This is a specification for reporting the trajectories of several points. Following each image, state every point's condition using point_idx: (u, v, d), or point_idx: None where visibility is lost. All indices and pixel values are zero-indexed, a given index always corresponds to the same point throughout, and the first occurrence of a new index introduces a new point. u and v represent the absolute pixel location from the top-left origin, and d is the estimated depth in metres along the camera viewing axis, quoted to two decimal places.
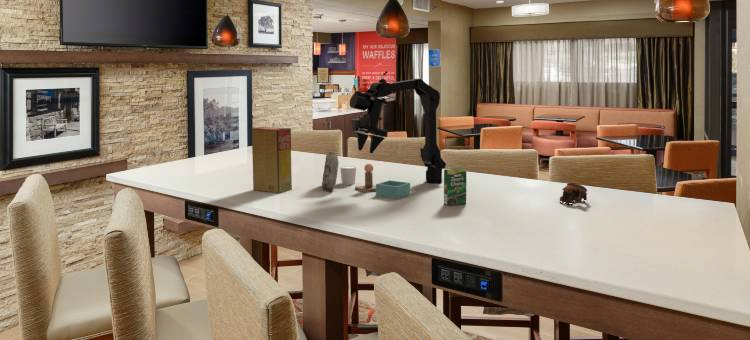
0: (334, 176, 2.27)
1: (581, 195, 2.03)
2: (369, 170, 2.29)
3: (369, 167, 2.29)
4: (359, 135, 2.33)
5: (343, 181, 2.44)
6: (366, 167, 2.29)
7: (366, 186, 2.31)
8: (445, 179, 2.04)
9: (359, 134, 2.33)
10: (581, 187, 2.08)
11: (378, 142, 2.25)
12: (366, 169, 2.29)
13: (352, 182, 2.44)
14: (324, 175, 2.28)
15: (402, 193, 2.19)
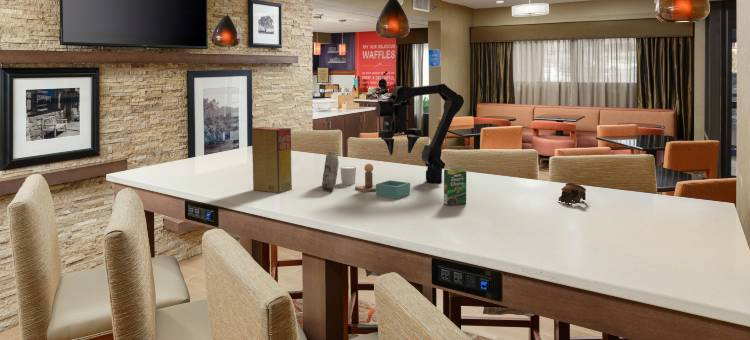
0: (334, 176, 2.27)
1: (580, 195, 2.04)
2: (369, 170, 2.29)
3: (369, 167, 2.29)
4: (408, 138, 2.45)
5: (343, 181, 2.44)
6: (366, 167, 2.29)
7: (366, 186, 2.31)
8: (445, 179, 2.04)
9: (408, 137, 2.45)
10: (580, 187, 2.08)
11: (390, 144, 2.37)
12: (366, 169, 2.29)
13: (352, 182, 2.44)
14: (324, 175, 2.28)
15: (402, 193, 2.19)
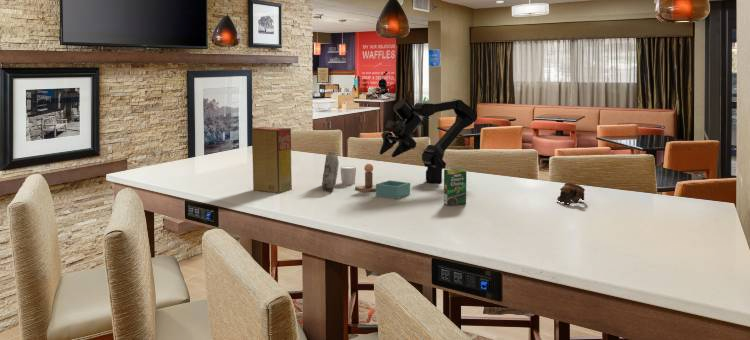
0: (334, 176, 2.27)
1: (579, 195, 2.04)
2: (369, 170, 2.29)
3: (369, 167, 2.29)
4: (386, 141, 2.39)
5: (343, 181, 2.44)
6: (366, 167, 2.29)
7: (366, 186, 2.31)
8: (445, 179, 2.04)
9: (386, 140, 2.39)
10: (579, 187, 2.08)
11: (403, 150, 2.31)
12: (366, 169, 2.29)
13: (352, 182, 2.44)
14: (324, 175, 2.28)
15: (402, 193, 2.19)
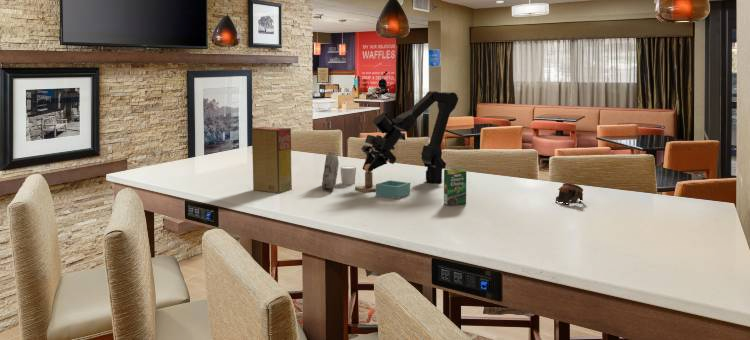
0: (334, 176, 2.27)
1: (577, 195, 2.04)
2: None
3: None
4: (369, 156, 2.33)
5: (343, 181, 2.44)
6: (366, 167, 2.29)
7: (366, 186, 2.31)
8: (445, 179, 2.04)
9: (370, 155, 2.33)
10: (577, 187, 2.08)
11: (379, 164, 2.29)
12: (366, 169, 2.29)
13: (352, 182, 2.44)
14: (324, 175, 2.28)
15: (402, 193, 2.19)
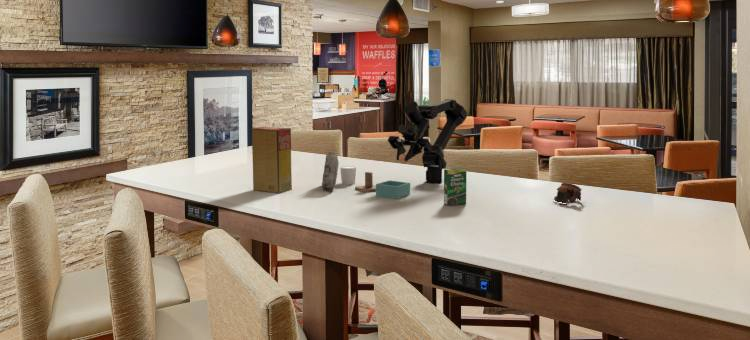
0: (334, 176, 2.27)
1: (576, 195, 2.04)
2: None
3: None
4: (401, 146, 2.31)
5: (343, 181, 2.44)
6: (402, 157, 2.27)
7: (366, 186, 2.31)
8: (445, 179, 2.04)
9: (401, 145, 2.31)
10: (575, 187, 2.08)
11: (414, 153, 2.29)
12: (402, 159, 2.28)
13: (352, 182, 2.44)
14: (324, 175, 2.28)
15: (402, 193, 2.19)
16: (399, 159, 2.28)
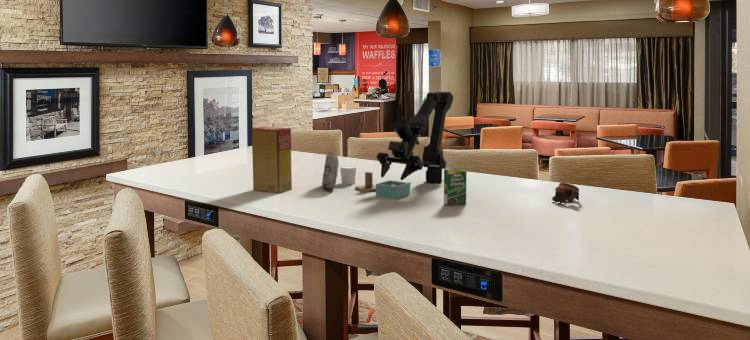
0: (334, 176, 2.27)
1: (574, 195, 2.04)
2: None
3: None
4: (385, 162, 2.25)
5: (343, 181, 2.44)
6: None
7: (366, 186, 2.31)
8: (445, 179, 2.04)
9: (385, 161, 2.25)
10: (573, 187, 2.08)
11: (410, 172, 2.20)
12: None
13: (352, 182, 2.44)
14: (324, 175, 2.28)
15: (402, 193, 2.19)
16: None
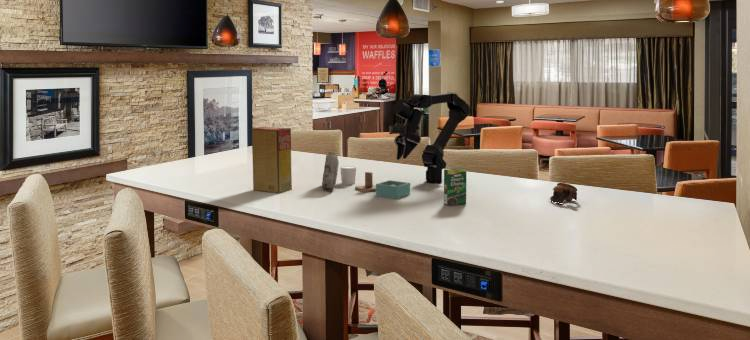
0: (334, 176, 2.27)
1: (572, 195, 2.04)
2: None
3: None
4: (398, 145, 2.40)
5: (343, 181, 2.44)
6: None
7: (366, 186, 2.31)
8: (445, 179, 2.04)
9: (399, 144, 2.40)
10: (571, 187, 2.08)
11: (411, 148, 2.30)
12: None
13: (352, 182, 2.44)
14: (324, 175, 2.28)
15: (402, 193, 2.19)
16: None
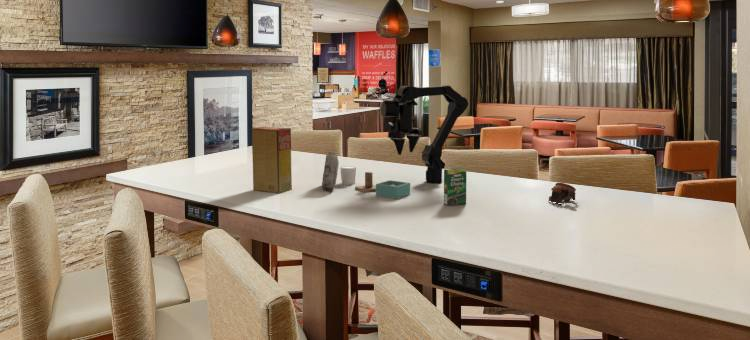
0: (334, 176, 2.27)
1: (570, 195, 2.04)
2: None
3: None
4: (409, 138, 2.46)
5: (343, 181, 2.44)
6: None
7: (366, 186, 2.31)
8: (445, 179, 2.04)
9: (408, 137, 2.46)
10: (570, 187, 2.09)
11: (400, 144, 2.36)
12: None
13: (352, 182, 2.44)
14: (324, 175, 2.28)
15: (402, 193, 2.19)
16: None
